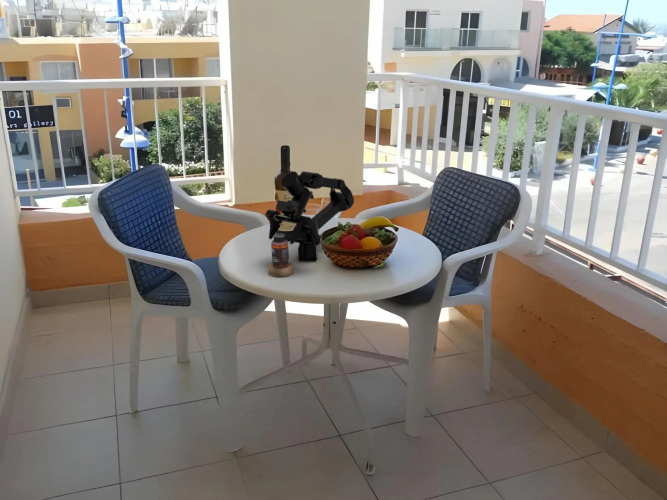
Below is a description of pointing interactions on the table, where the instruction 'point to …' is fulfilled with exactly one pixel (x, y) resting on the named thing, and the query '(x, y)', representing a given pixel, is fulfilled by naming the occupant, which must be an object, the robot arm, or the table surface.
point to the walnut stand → (281, 270)
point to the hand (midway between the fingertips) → (280, 241)
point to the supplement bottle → (280, 251)
